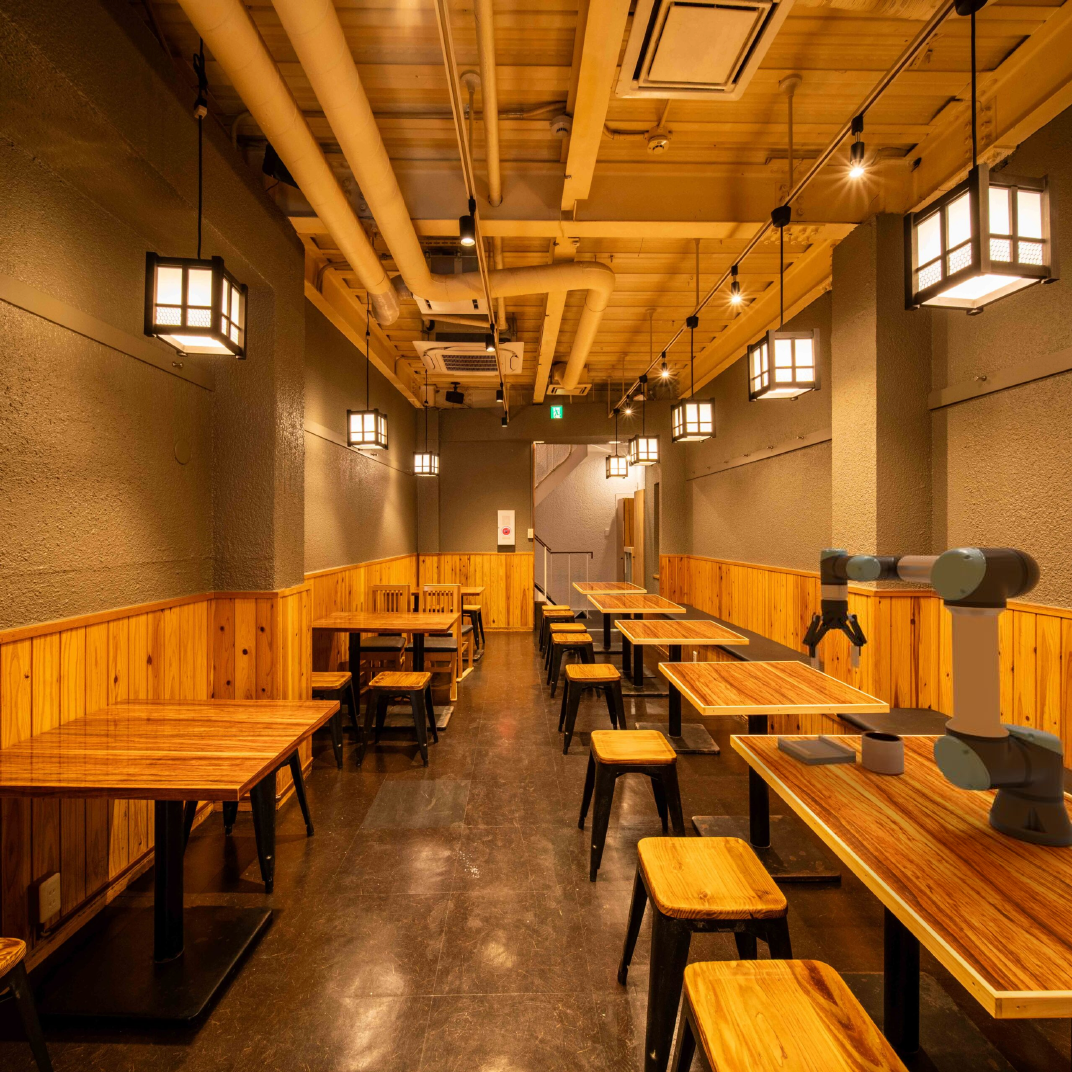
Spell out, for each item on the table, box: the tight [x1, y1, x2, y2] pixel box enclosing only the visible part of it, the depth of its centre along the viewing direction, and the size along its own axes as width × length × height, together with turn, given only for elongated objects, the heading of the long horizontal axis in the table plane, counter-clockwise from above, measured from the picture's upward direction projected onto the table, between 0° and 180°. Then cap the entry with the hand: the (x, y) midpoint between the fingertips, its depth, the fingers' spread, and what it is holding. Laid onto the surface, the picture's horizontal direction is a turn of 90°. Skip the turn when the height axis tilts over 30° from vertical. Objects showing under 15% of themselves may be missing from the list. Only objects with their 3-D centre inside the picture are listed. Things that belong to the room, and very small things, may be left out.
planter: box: [860, 730, 905, 776], centre depth 174 cm, size 11×11×10 cm
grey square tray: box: [777, 734, 857, 766], centre depth 186 cm, size 16×16×3 cm
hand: (835, 667), depth 183 cm, fingers open, 13 cm apart
